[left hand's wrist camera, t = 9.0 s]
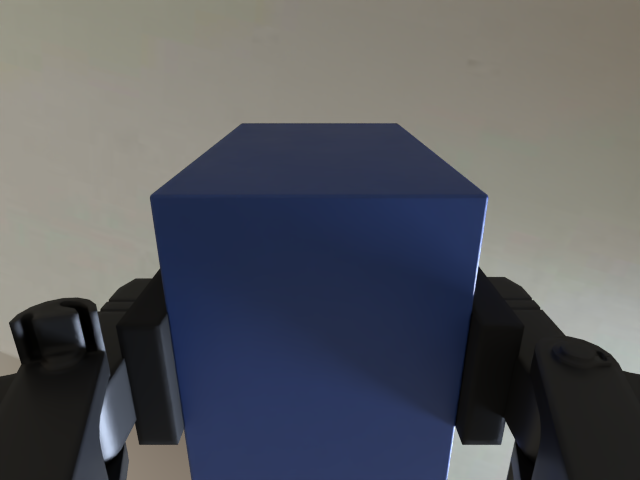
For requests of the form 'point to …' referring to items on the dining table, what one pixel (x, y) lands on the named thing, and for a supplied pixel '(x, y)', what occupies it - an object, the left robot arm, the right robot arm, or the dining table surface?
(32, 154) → the dining table surface
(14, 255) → the dining table surface
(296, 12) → the dining table surface
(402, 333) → the block
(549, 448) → the left robot arm
